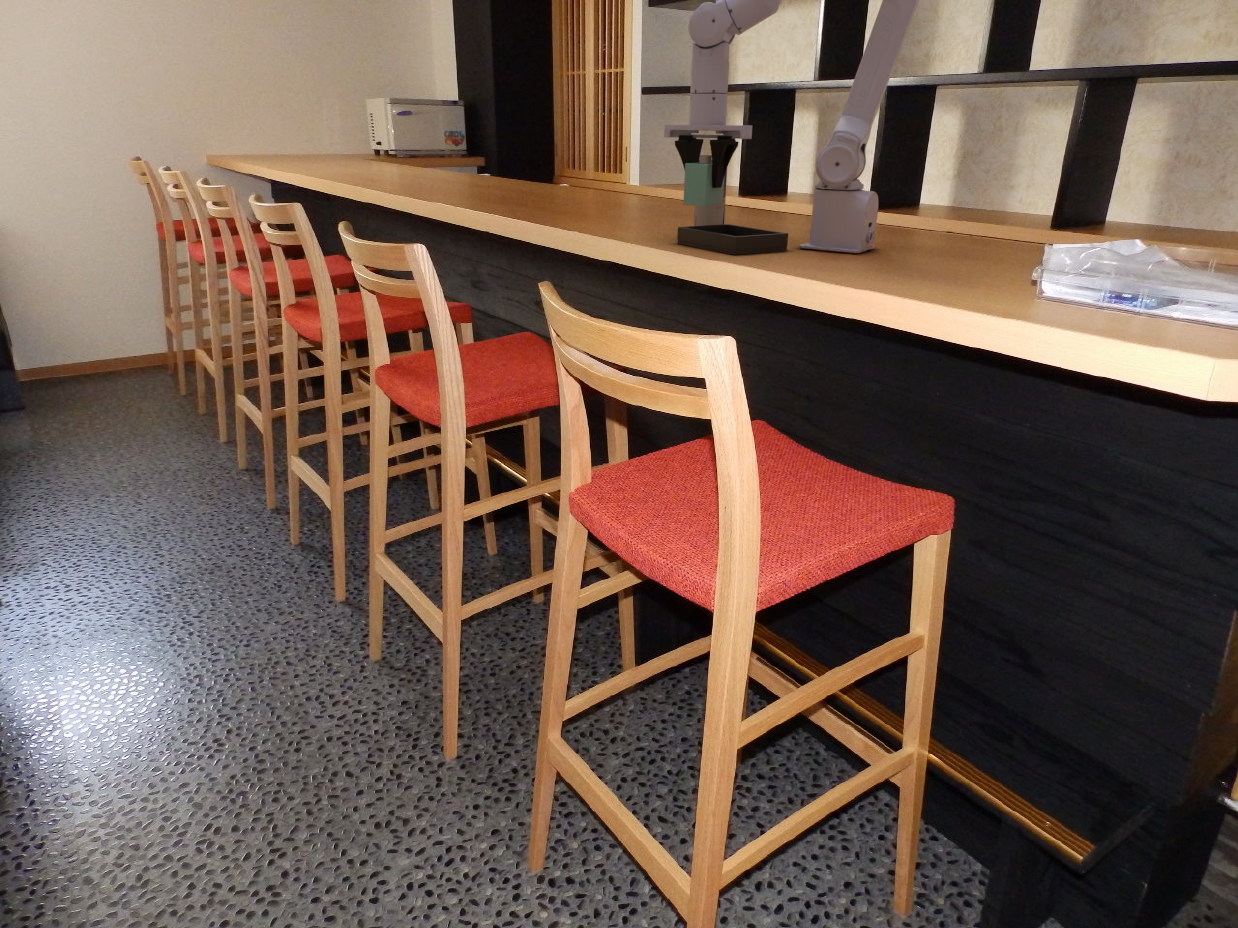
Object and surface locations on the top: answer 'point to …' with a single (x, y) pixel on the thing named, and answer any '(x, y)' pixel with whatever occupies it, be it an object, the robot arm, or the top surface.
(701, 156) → the detergent bottle
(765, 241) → the tray
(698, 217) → the energy drink
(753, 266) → the top surface
